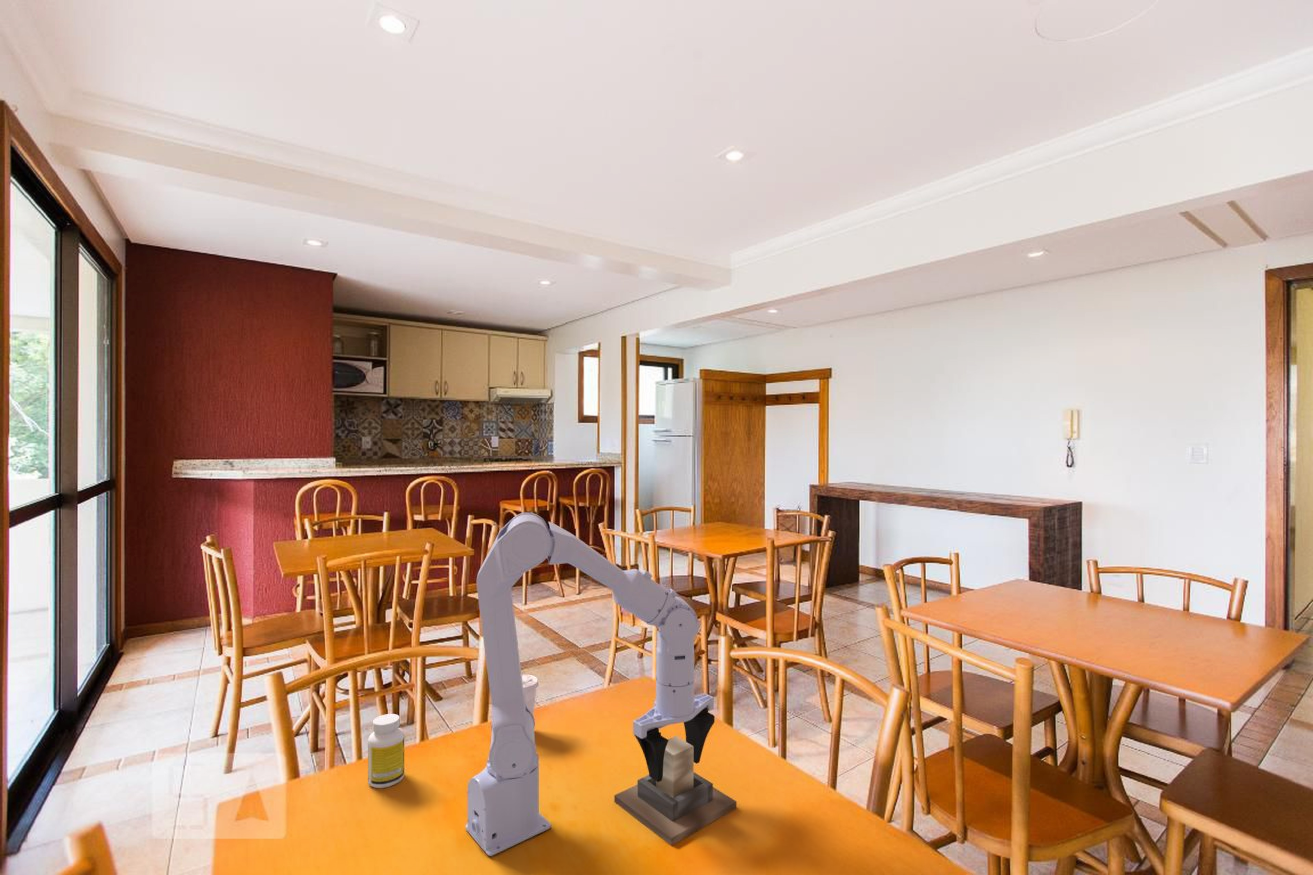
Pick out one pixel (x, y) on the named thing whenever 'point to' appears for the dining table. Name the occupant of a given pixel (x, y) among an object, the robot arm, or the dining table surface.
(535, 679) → the smoothie
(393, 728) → the supplement bottle
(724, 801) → the socket block
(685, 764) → the square peg
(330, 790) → the dining table surface
